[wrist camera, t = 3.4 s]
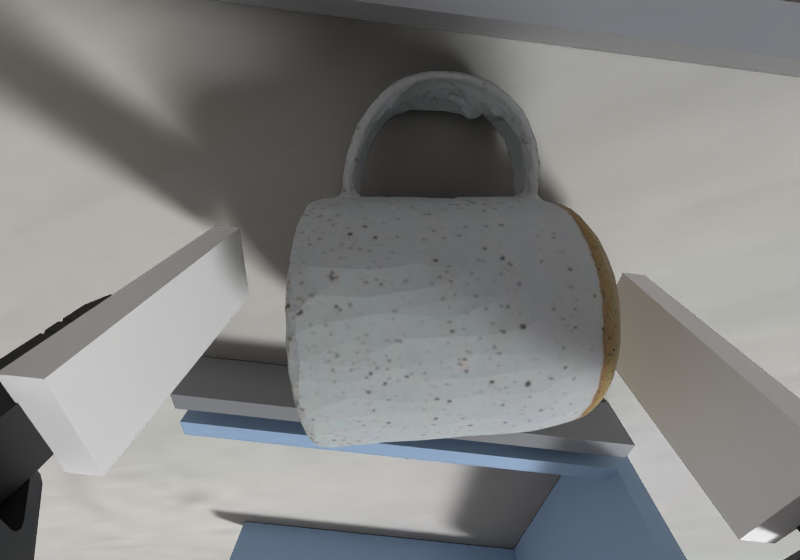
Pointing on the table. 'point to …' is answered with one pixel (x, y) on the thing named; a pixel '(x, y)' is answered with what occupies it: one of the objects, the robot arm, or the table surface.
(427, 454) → the frame
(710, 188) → the table surface
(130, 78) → the table surface
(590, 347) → the ceramic mug
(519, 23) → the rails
